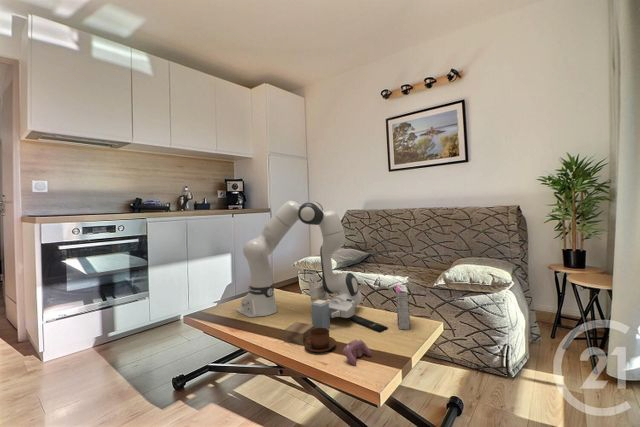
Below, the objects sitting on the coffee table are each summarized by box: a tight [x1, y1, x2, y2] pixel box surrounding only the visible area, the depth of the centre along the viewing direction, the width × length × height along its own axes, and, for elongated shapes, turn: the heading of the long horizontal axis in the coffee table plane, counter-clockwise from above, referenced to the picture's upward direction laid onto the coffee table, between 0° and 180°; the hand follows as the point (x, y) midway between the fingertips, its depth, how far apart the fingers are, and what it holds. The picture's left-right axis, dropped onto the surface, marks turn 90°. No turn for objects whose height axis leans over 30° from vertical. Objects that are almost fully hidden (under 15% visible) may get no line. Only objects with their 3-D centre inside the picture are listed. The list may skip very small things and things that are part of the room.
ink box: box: [308, 278, 328, 304], centre depth 160 cm, size 9×5×15 cm, turn 149°
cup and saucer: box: [304, 328, 337, 353], centre depth 117 cm, size 12×12×6 cm
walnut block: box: [283, 321, 315, 347], centre depth 126 cm, size 9×9×5 cm
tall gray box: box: [311, 300, 331, 330], centre depth 135 cm, size 6×6×12 cm
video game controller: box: [342, 339, 373, 367], centre depth 108 cm, size 10×5×7 cm, turn 134°
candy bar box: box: [395, 284, 411, 330], centre depth 135 cm, size 11×5×16 cm, turn 168°
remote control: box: [342, 314, 389, 333], centre depth 139 cm, size 5×24×1 cm, turn 37°
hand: (322, 313), depth 136 cm, fingers open, 8 cm apart
